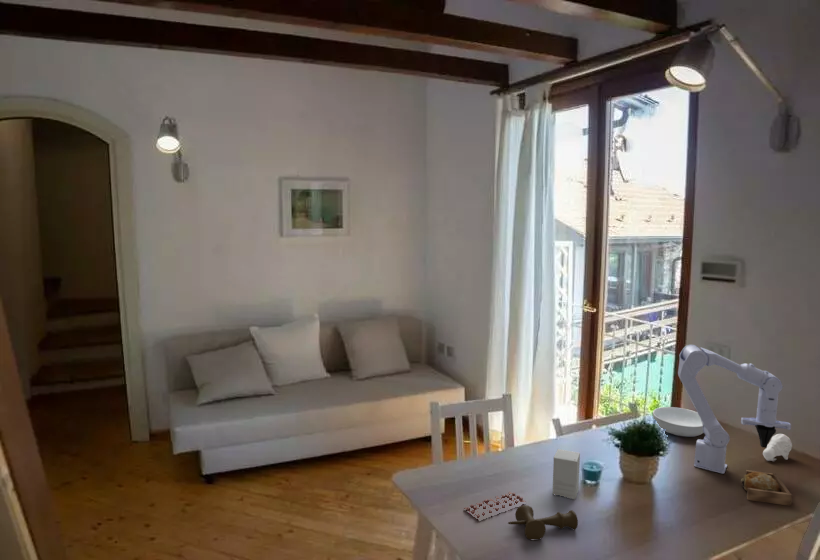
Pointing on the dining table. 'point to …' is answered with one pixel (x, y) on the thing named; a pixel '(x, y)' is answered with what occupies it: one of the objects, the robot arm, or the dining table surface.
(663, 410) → the serving bowl
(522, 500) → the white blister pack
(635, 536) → the dining table surface
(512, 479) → the dining table surface
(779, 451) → the white lumpy piece
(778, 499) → the wooden tray
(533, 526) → the kendama
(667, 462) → the dining table surface
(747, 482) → the bread roll
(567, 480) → the supplement box
